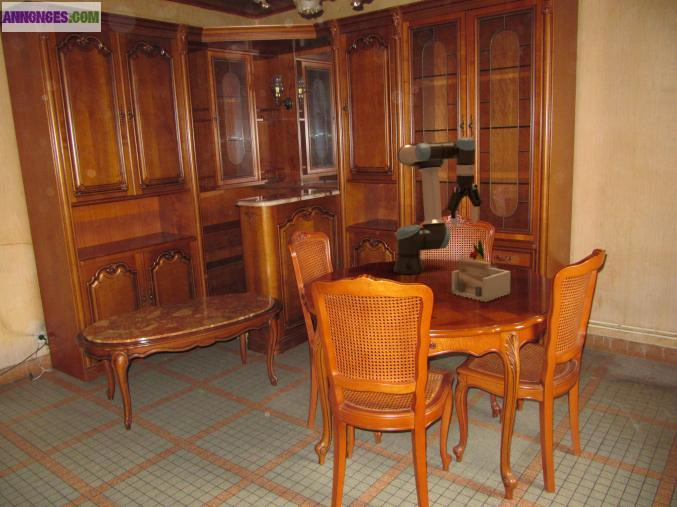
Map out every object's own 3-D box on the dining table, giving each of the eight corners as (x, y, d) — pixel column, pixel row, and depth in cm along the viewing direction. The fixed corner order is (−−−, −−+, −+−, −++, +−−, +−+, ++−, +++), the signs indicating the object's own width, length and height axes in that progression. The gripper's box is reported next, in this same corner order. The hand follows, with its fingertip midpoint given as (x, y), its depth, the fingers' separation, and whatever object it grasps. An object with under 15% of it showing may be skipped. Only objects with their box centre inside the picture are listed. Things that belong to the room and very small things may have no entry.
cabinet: (476, 286, 264) (476, 264, 261) (509, 293, 250) (510, 271, 248) (451, 293, 253) (451, 271, 251) (485, 302, 239) (485, 278, 237)
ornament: (468, 275, 301) (458, 248, 303) (483, 270, 301) (473, 243, 303) (476, 272, 281) (465, 243, 282) (492, 267, 281) (482, 238, 282)
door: (463, 288, 255) (464, 257, 252) (490, 294, 244) (490, 262, 241) (456, 291, 252) (456, 259, 249) (482, 297, 241) (482, 264, 238)
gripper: (453, 178, 237) (452, 228, 242) (490, 172, 252) (489, 220, 257) (439, 176, 242) (438, 226, 247) (476, 171, 257) (475, 218, 262)
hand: (464, 223), depth 252 cm, fingers open, 13 cm apart
